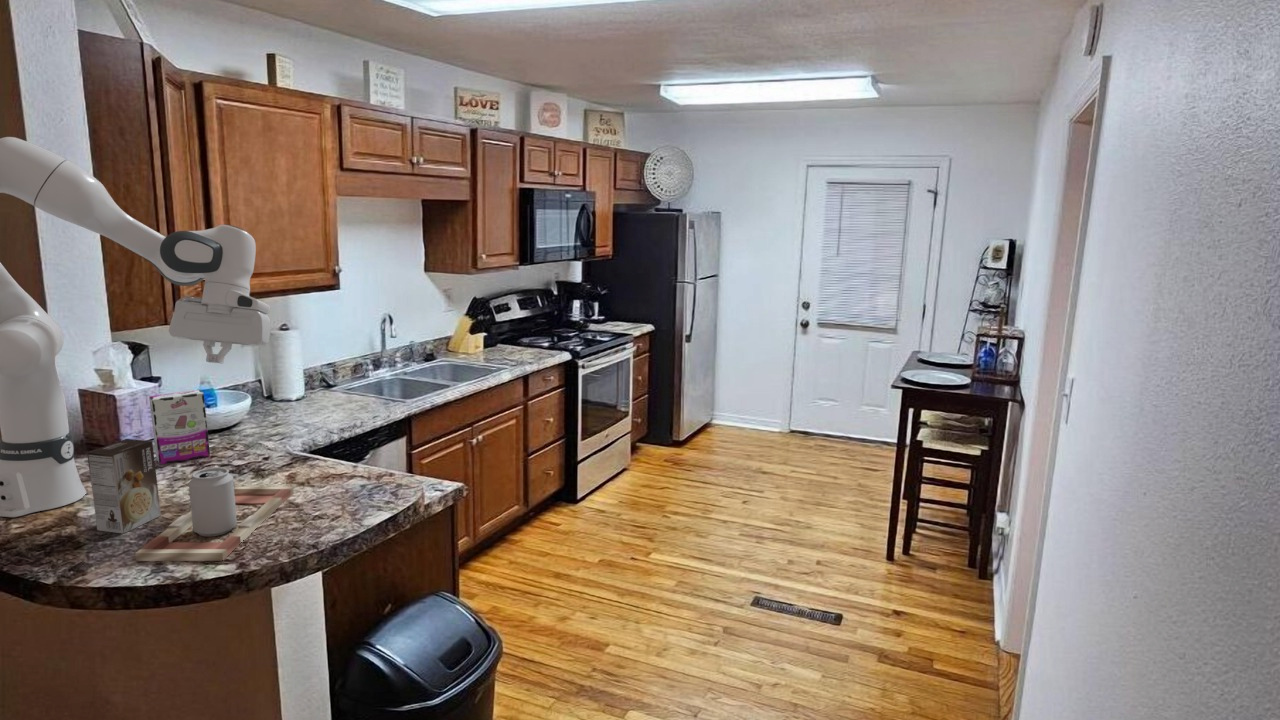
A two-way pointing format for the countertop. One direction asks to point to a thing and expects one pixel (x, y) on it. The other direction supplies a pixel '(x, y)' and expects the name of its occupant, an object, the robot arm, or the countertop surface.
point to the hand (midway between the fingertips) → (214, 362)
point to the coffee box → (124, 485)
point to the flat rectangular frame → (214, 551)
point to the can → (212, 501)
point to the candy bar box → (179, 426)
